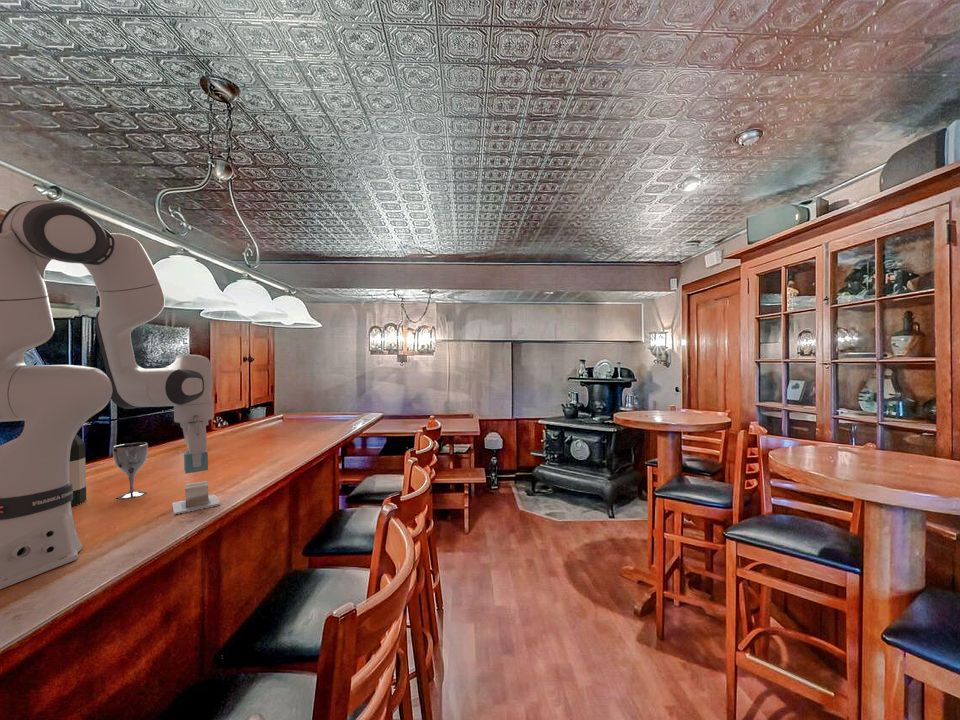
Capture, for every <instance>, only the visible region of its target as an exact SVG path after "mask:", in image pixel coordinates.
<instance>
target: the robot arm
mask: <svg viewBox="0 0 960 720" xmlns="http://www.w3.org/2000/svg"><path fill="white" fill-rule="evenodd" d="M52 261H57V262H63V263H69V264H81V265H83V266H84V268H86V270H87V271H88V272H89V274H90V275H91V276H92V277H91V278H92V280H93V283H94V285H95V288H96V290H97V292H98V296H99V302H100V309H99V310H98V312H96V315H95V318H94V322H95V323H94V324H95V330H96V335H97V340H98V343H99V348H100V352H101V355H102V361H103V364H104V367H105V368H104V369H105V371H106V373H105V372H104V371H103V370H101V369H100V368H96V367H91V366H84V365H74V364H51V365H49V364H48V365H47V364H46V365H45V364H44V365H43V364H42V365H41V364H40V365H35V364H34V365H30V364H26V363H25V353H26V351H30V350H32V349H34V348H37V347H39V346H42V345H43V344H45V343H47V342H48V341H49V340H50V339H51V338H52V337H53V335H54V332H55V330H56V329H55V325H54V319H53V313H52V309H51V304H50V299H49V293H48V290H47V286H46V282H45V272H46V269H47V267H48V265H49V264H50V263H51V262H52ZM165 304H166V298H165V293H164V289H163V288H162V284H161V282H160V279H159V276H158V273H157V271H156V268H155V267H154V265H153V262H152V260H151V258H150V257H149V255H148V253H147V251H146V250H145V248H144V247H143V245H142V244H141V242H140V241H139V240H138V239H136V238H134V237H132V236H131V235H127V234H124V233H117V232H116V233H115V232H112V233H111V232H109V231H108V230H107V229H106V228H104V227H103V226H102V224H100V223H99V222H98V221H97V220H96V219H94V218H93V217H92V216H91V215H90V214H88V213H87V212H85V211H83V210H82V209H80V208H78V207H76V206H72V205H70V204H67V203H61V202H57V201H53V200H47V199H45V200H44V199H43V200H42V199H40V200H39V199H38V200H37V199H36V200H27V201H22V202H19V203H17V204H15V205H13V206H12V207H10V208H9V209H8V211H6V212H5V214H4V216H3V218H2V220H0V423H2V422H5V423H6V422H19V421H24V426H23V427H24V428H23V429H22V432H21V434H20V435H19V436H18V437H16V438H14V439H12V440H9V441H8V442H6V443H3V444H2V445H0V590H2V589H4V588H7V587H9V586H12V585H15V584H18V583H19V582H22V581H25V580H28V579H30V578H32V577H35V576H38V575H40V574H43V573H45V572H48V571H51V570H53V569H56V568H58V567H61V566H64V565H66V564H68V563H71V562H74V561H76V560H77V559H78V558H79V554H78V553H79V552H80V551H81V550H82V549H83V545H82V542H81V540H80V539H79V535H78V531H77V530H76V526H75V522H74V516H73V511H72V506H71V502H72V499H73V487H72V482H70V481H69V464H70V451H71V445H72V442H73V439H74V437H75V435H76V434H77V433H78V432H79V431H80V430H81V427H82V426H84V425H85V423H86V422H87V421H88V420H89V419H91V418H92V417H94V416H95V415H96V414H98V413H99V412H101V411H102V410H104V409H105V408H106V406H108V404H109V402H110V401H112V402H113V404H115V406H118V407H119V408H121V409H126V410H131V409H132V410H133V409H138V408H150V407H151V408H152V407H153V408H154V407H156V408H157V407H158V408H159V407H161V408H162V407H173V416H174V417H173V419H174V423H179V425H180V428H181V429H182V433H183V438H184V442H185V444H186V447H187V449H188V450H187V451H189V452H190V454H192V461H193V467H200V466H201V457H202V453H204V452H206V450H207V449H208V443H207V442H208V441H207V426H209V421H210V420H213V419H214V418H215V417H214V416H215V413H214V411H215V409H214V398H213V397H212V396H213V395H212V391H213V387H214V380H213V377H214V376H213V370H212V365H211V362H210V361H211V360H210V359H209V358H208V357H207V356H203V355H200V354H189V353H187V354H184V353H183V354H179V355H176V356H175V358H174V362H172V363H171V364H170V365H167V366H165V367H162V368H161V367H160V368H143V367H141V366H140V365H139V364H137V362H136V358H135V357H136V356H135V354H134V353H135V352H134V348H133V342H132V338H131V337H132V335H131V334H132V332H133V331H134V329H136V328H137V327H140V326H143V325H144V324H146V323H149V322H150V321H152V320H154V319H155V318H157V317H158V316H159V315H160V314H161V312H162V311H163V309H164V308H165ZM77 435H78V434H77ZM207 451H208V450H207Z"/></svg>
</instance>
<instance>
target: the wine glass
mask: <svg viewBox="0 0 960 720" xmlns="http://www.w3.org/2000/svg"><path fill="white" fill-rule="evenodd" d="M148 452H149V443H148V442H145V441H144V442H143V441H142V442H139V441H138V442H131V443H129V442H128V443H123V444H118V445H114V446H112V457H113V461H114V463H115V466H116V467H117V468H118V469H119V470H121V471H122V472H123V473H124V474H126V476H127V478H128V481H129V491H128V492H126V493H123V494H120V495H117V496H118V497H117V496H116V497H117V498H118V499H117V500H128V499H127V498H129V499H134V497H135V498H139V497H141V496H144V495H147V494H148V491H147V490H134V481H135V476H136V474H137V472H138V471H139V470H140V469H141V467H143V466H144V464H145V463H146V461H147V457H148V454H149V453H148Z"/></svg>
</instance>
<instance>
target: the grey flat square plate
mask: <svg viewBox="0 0 960 720" xmlns="http://www.w3.org/2000/svg"><path fill="white" fill-rule="evenodd" d="M171 504H172V505H171V506H172V512H173V515H174V516H176V514H178V515H181V514H180V513H182V514H186V512H187V513H191V512H190V511H192V512H195V511H194V510H196V511H199V510H198V509H201V510H204V509H203V508H206V509H210V508H209V507H211V508H214V507H213V506H215V507H219V506H218V505H220V506H221V502H220V500H219V498H218V497H217V495H216V494H210V495H209V494H208V503H207V504H202V505H197V506H191V507H186V499H185V500H180V501H175V502H172V503H171Z"/></svg>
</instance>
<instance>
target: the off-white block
mask: <svg viewBox="0 0 960 720" xmlns="http://www.w3.org/2000/svg"><path fill="white" fill-rule="evenodd" d="M184 490H185V496H184V497H185V500H186V507H191V506H197V505H202V504H207V503H208V496H209V481H208V480H204V481H198V482H192V483H185V489H184Z"/></svg>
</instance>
